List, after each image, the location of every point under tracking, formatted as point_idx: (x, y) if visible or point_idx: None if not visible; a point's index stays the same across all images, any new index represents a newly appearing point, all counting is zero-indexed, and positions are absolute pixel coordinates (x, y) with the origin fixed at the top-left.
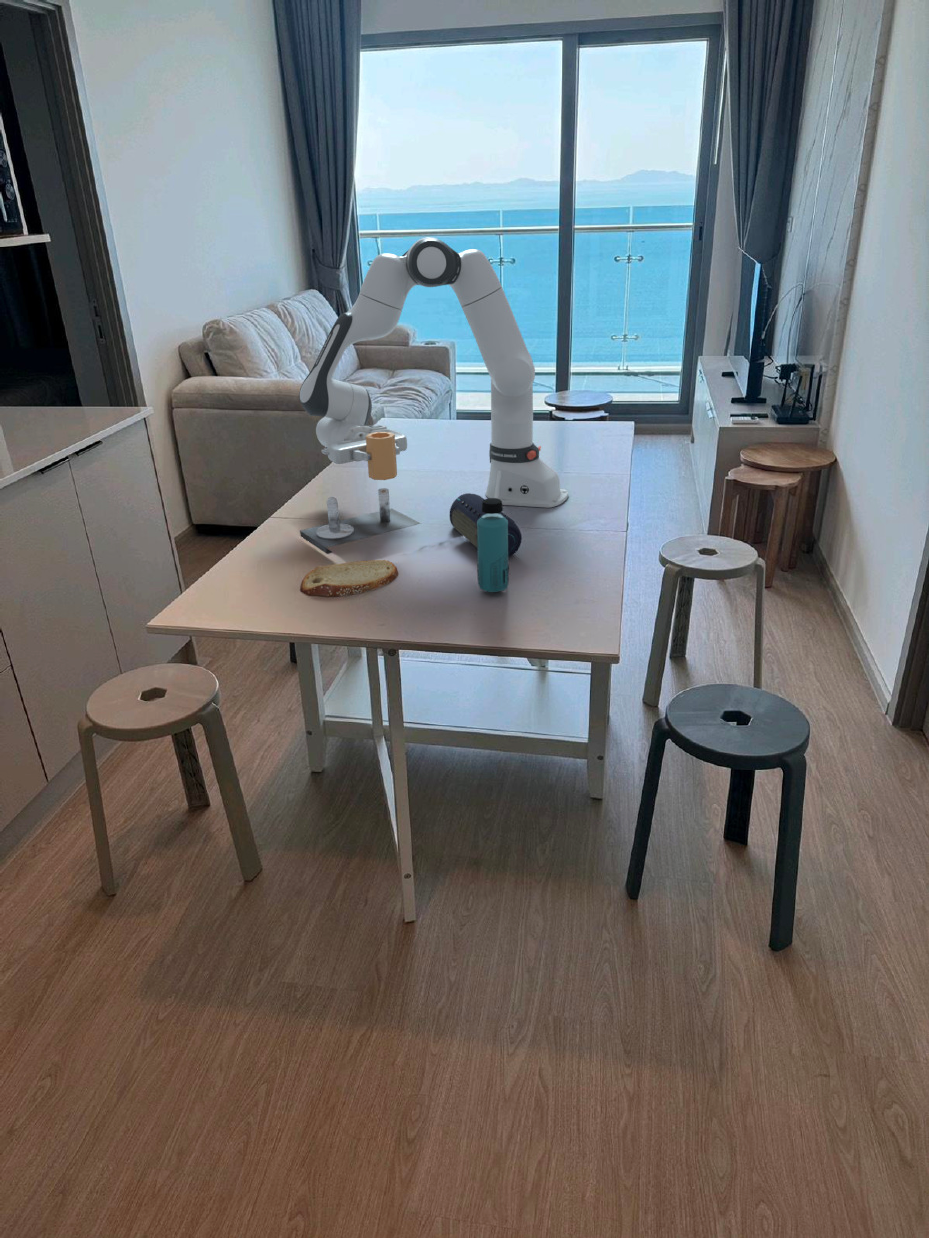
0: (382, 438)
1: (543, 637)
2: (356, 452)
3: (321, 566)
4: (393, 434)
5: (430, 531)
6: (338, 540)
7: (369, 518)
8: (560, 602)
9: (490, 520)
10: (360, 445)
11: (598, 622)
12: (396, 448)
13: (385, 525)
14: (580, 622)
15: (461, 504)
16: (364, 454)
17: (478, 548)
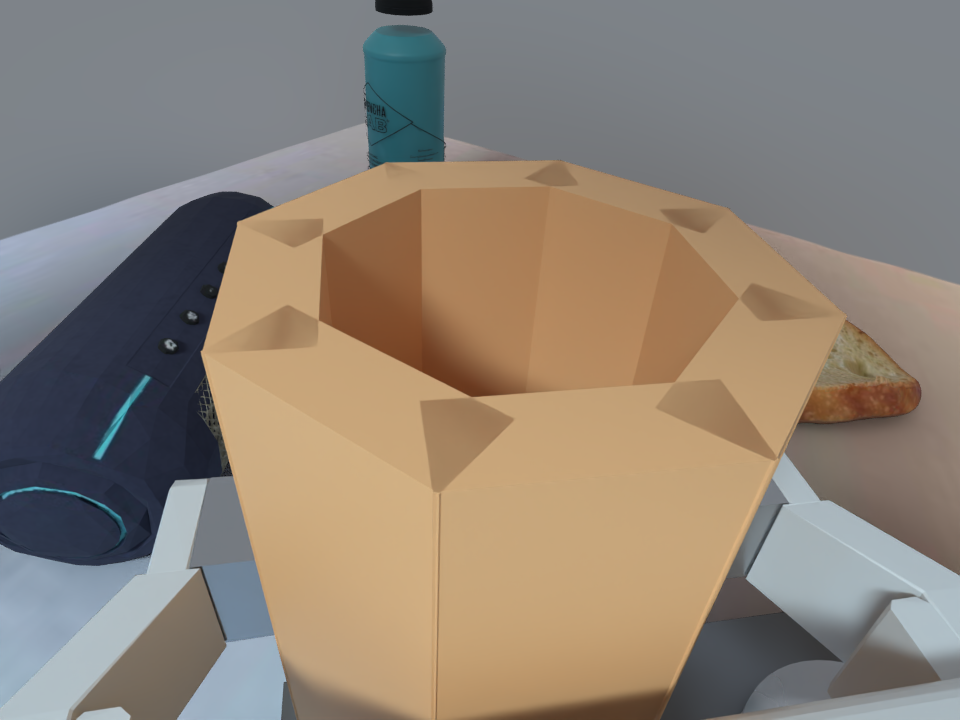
0: (546, 169)
1: None
2: (937, 571)
3: (868, 382)
4: (269, 217)
5: (269, 638)
6: (828, 660)
7: None
8: (321, 183)
9: (422, 27)
10: (922, 710)
11: (323, 145)
12: (232, 476)
13: None
14: (348, 151)
15: (179, 355)
16: (782, 458)
17: (442, 121)
